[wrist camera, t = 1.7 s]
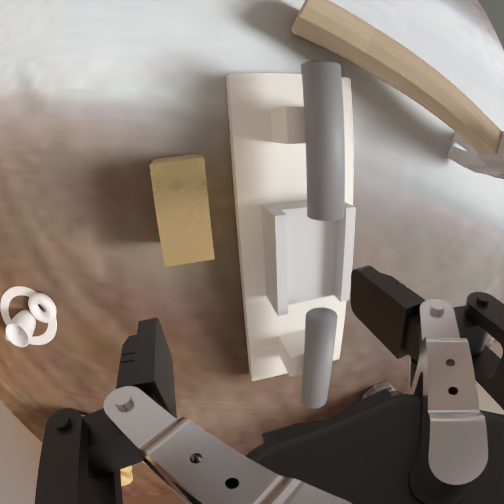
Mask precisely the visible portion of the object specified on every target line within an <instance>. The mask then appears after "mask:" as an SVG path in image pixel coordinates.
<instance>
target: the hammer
mask: <svg viewBox="0 0 504 504" xmlns="http://www.w3.org/2000/svg"><path fill="white" fill-rule="evenodd" d="M291 31H292V33H293V34H295V35H297V36H300V37H302V38H304V39H306V40H309V41H311V42H313V43H315V44H317V45H319V46H321V47H324V48H326V49H328V50H330V51H332V52H334V53H336V54H338V55H340V56H341V57H343V58H345V59H347V60H349V61H351V62H353V63H354V64H356V65H358V66H359V67H361V68H363V69H364V70H366V71H368V72H369V73H371V74H373V75H374V76H376V77H377V78H379V79H381V80H382V81H384V82H386V83H387V84H389V85H391V86H392V87H394V88H395V89H397V90H399V91H400V92H402V93H403V94H405V95H406V96H408V97H410V98H411V99H413V100H414V101H416V102H417V103H419V104H420V105H421V106H423V107H424V108H426V109H427V110H428V111H430V112H431V113H433V114H434V115H435V116H437V117H438V118H439V119H440V120H442V121H443V122H444V123H446V124H447V125H448V126H449V127H451V128H452V129H453V130H454V131H456V132H455V135H454V138H453V141H454V142H456V143H457V144H459V145H460V146H462V147H463V148H465V149H466V150H468V151H464V150H461V149H459V148H456V147H454V146H452V145H451V146H450V149H449V152H448V154H447V157H448V158H449V159H451V160H453V161H455V162H457V163H458V164H460V165H462V166H463V167H465V168H468V169H470V170H472V171H474V172H477V173H482V174H487V175H490V176H493V177H496V178H502V179H504V132H501V130H500V129H499V128H498V127H497V126H496V125H495V124H494V123H493V122H492V121H491V120H490V119H489V118H488V117H487V116H486V115H485V114H484V113H483V112H482V111H481V110H480V109H479V108H478V107H477V106H476V105H475V104H474V103H473V102H472V101H471V100H470V99H469V98H468V97H467V96H466V95H464V94H463V93H462V92H461V91H460V90H459V89H458V88H457V87H456V86H455V85H453V84H452V83H451V82H450V81H449V80H448V79H446V78H445V77H444V76H443V75H442V74H440V73H439V72H438V71H437V70H435V69H434V68H433V67H432V66H430V65H429V64H428V63H426V62H425V61H424V60H422V59H421V58H420V57H418V56H417V55H416V54H414V53H413V52H411V51H410V50H409V49H407V48H406V47H404V46H403V45H401V44H400V43H398V42H397V41H395V40H394V39H392V38H391V37H389V36H388V35H386V34H384V33H383V32H381V31H380V30H378V29H376V28H375V27H373V26H372V25H370V24H368V23H367V22H365V21H364V20H362V19H360V18H359V17H357V16H355V15H354V14H352V13H350V12H349V11H347V10H345V9H343V8H342V7H340V6H338V5H336V4H334V3H332V2H331V1H329V0H306V1H305V2H304V4H303V6H302V8H301V9H300V11H299V13H298V15H297V17H296V19H295V21H294V24H293V26H292V29H291Z"/></svg>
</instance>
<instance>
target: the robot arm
mask: <svg viewBox="0 0 504 504" xmlns="http://www.w3.org/2000/svg"><path fill="white" fill-rule="evenodd" d="M351 307H352V310H353V312H354V314H355V315H356V316H357V318H358V319H359V320H360V321H361V322H362V323H363V324H364V325H365V326H366V327H367V328H368V329H369V330H370V331H371V332H372V333H373V334H374V335H375V336H376V337H377V338H378V339H379V340H380V341H381V342H382V343H383V344H384V345H385V346H386V347H387V348H388V349H389V350H390V351H391V353H392V354H393V355H394V356H395V357H396V358H397V359H399V358H402V357H404V356H406V355H408V354H409V355H410V360H409V377H408V394H401V395H393V396H392V395H391V394H390V393H389V391H388V390H387V389H383V390H381V391H379V392H377V393H375V394H372V395H370V396H368V397H366V398H363V399H361V400H359V401H357V402H356V403H355V404H353V405H352V406H350V407H349V408H347V409H346V410H345V411H343V412H342V413H340V414H339V415H337V416H336V417H334V418H332V419H329V420H322V421H315V422H308V423H300V424H294V425H291V426H287V427H284V428H281V429H278V430H274V431H271V432H267V433H264V434H262V437H263V442H264V443H263V444H262V445H260V446H258V447H256V448H255V449H253V450H252V451H250V452H249V453H248V454H247V455H246V456H244V455H242V454H241V453H239V452H237V451H236V450H234V449H233V448H231V447H229V446H228V445H226V444H225V443H223V442H221V441H220V440H218V439H217V438H215V437H214V436H212V435H211V434H209V433H208V432H206V431H205V430H203V429H202V428H200V427H199V426H197V425H196V424H195V423H193V422H192V421H190V420H189V419H187V418H185V417H182V418H180V419H179V420H178V419H177V415H176V403H175V391H174V377H173V362H172V357H171V353H170V350H169V347H168V344H167V341H166V339H165V336H164V333H163V330H162V327H161V324H160V322H159V319H158V318H152V319H148V320H143V321H139V323H138V330H137V335H133V336H129V337H128V339H127V340H126V341H125V343H124V344H123V347H122V353H121V355H122V356H121V359H120V365H119V372H118V379H117V386H116V390H114V391H113V392H111V393H110V394H109V395H108V396H107V398H106V399H105V402H104V408H102V409H101V410H98V411H96V412H93V413H91V414H88V415H85V416H83V417H82V416H81V414H80V413H79V412H78V411H77V410H75V409H71V408H66V409H62V410H59V411H57V412H56V413H54V414H53V415H52V416H51V417H50V418H49V420H48V422H47V424H46V429H45V434H44V439H43V444H42V451H41V457H40V463H39V470H38V478H37V487H36V497H35V504H123V501H122V488H121V471H120V470H121V469H123V468H126V467H129V466H131V465H134V464H136V463H139V462H141V461H142V462H143V463H144V464H145V465H146V466H147V467H148V468H149V469H150V470H151V471H152V472H154V473H155V474H156V475H157V476H158V477H159V478H160V479H161V480H162V481H163V482H164V483H166V484H167V485H168V486H169V487H170V488H171V489H172V490H174V491H175V492H176V493H177V494H178V495H179V496H180V497H181V498H182V499H183V500H184V501H186V502H187V503H188V504H504V415H501V414H496V413H491V412H486V411H482V410H479V402H478V394H477V387H476V381H477V382H478V383H479V384H480V385H481V386H482V387H483V388H484V389H485V390H486V391H487V393H488V394H489V395H490V396H491V397H492V398H493V399H494V400H495V401H496V402H497V403H498V404H499V405H500V406H501V407H502V409H503V410H504V304H503V303H501V302H500V301H499V300H497V299H496V298H494V297H493V296H491V295H489V294H487V293H483V292H474V293H471V294H470V295H469V296H468V298H467V302H466V306H460V307H455V308H453V307H452V306H451V305H450V304H449V303H447V302H445V301H443V300H438V299H431V300H427V301H426V300H424V299H423V298H421V297H420V296H419V295H417V294H416V293H415V292H413V291H412V290H410V289H409V288H406V286H405V285H403V284H402V283H401V284H400V282H399V281H398V280H396V279H395V278H393V277H392V276H389V275H386V274H383V273H380V272H378V271H377V270H376V269H374V268H373V267H371V266H365V267H361V268H358V269H354V270H353V271H352V273H351ZM489 334H490V335H491V336H492V337H493V338H495V339H496V340H497V341H498V342H499V343H500V344H501V345H502V348H503V355H502V358H501V359H500V358H499V357H498V356H497V355H496V354H495V353H494V352H493V351H492V350H490V349H489V348H488V347H487V346H486V345H485V344H486V341H487V338H488V335H489Z"/></svg>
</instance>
